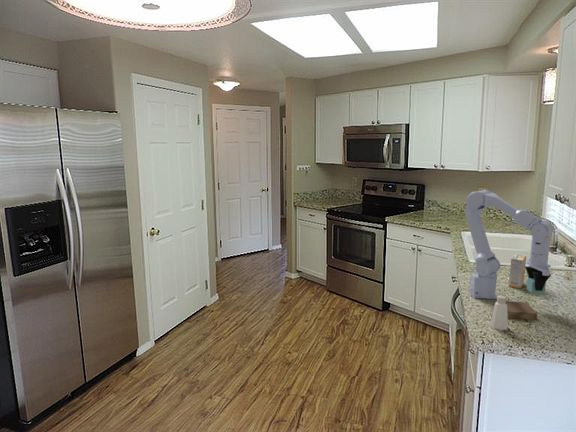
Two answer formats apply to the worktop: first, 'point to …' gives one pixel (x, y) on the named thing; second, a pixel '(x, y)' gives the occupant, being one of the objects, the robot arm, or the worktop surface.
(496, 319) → the pepper shaker
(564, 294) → the worktop surface
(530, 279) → the teal cube
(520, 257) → the supplement box
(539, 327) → the worktop surface
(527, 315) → the walnut block
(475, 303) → the worktop surface
